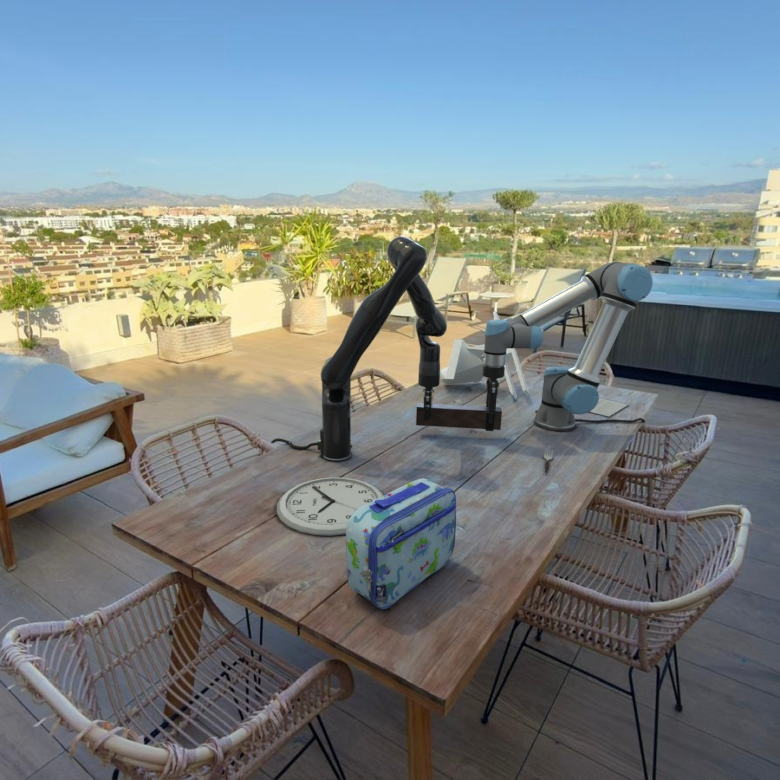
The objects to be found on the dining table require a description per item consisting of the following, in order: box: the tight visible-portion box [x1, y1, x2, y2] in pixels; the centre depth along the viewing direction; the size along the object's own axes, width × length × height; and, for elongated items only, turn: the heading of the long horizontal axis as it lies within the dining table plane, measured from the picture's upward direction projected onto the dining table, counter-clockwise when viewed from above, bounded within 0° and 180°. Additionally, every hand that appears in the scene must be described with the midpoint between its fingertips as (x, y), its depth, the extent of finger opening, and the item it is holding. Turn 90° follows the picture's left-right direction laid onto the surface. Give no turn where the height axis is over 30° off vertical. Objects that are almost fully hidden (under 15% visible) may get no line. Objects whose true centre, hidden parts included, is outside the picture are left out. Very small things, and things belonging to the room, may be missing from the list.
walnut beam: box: [415, 402, 503, 431], centre depth 188 cm, size 30×4×7 cm, turn 83°
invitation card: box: [589, 397, 629, 418], centre depth 226 cm, size 21×1×15 cm
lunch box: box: [345, 477, 457, 610], centre depth 110 cm, size 26×11×21 cm, turn 134°
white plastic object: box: [440, 310, 531, 400], centre depth 245 cm, size 37×45×31 cm
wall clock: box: [276, 476, 385, 537], centre depth 142 cm, size 30×2×30 cm
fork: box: [543, 448, 554, 473], centre depth 170 cm, size 3×16×2 cm, turn 160°
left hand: (427, 417), depth 189 cm, fingers closed on walnut beam, 4 cm apart
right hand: (489, 427), depth 188 cm, fingers closed on walnut beam, 4 cm apart
